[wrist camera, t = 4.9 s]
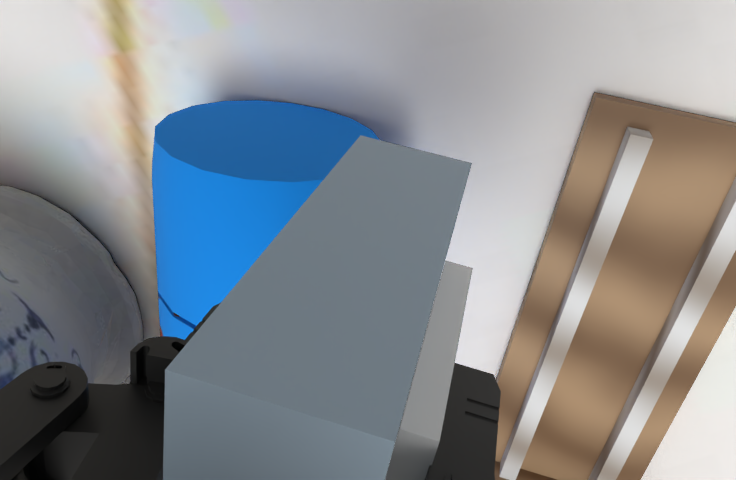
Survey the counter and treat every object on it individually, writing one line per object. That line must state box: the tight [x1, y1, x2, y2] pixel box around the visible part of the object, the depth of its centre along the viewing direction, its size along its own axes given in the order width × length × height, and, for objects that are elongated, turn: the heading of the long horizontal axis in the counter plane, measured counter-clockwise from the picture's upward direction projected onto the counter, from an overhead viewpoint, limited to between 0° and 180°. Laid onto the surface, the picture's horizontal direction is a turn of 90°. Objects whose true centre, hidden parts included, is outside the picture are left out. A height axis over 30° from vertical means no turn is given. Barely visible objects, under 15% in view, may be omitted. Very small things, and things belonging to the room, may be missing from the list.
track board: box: [494, 92, 736, 480], centre depth 30 cm, size 26×10×12 cm, turn 171°
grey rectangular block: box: [163, 135, 472, 480], centre depth 14 cm, size 8×3×10 cm, turn 170°
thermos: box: [152, 100, 379, 340], centre depth 35 cm, size 11×11×25 cm
